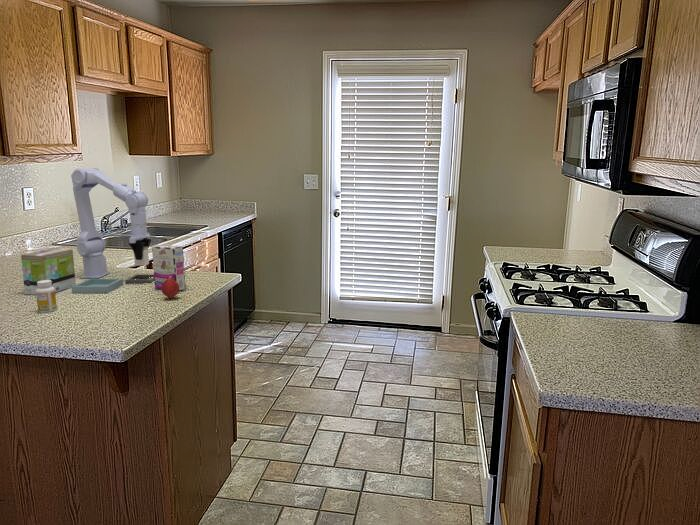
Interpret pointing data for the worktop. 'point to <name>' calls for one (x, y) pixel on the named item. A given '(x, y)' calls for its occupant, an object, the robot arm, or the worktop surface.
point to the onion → (170, 288)
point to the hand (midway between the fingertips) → (141, 258)
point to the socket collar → (132, 280)
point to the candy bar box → (168, 265)
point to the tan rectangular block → (143, 258)
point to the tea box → (48, 269)
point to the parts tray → (97, 286)
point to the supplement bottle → (46, 296)
